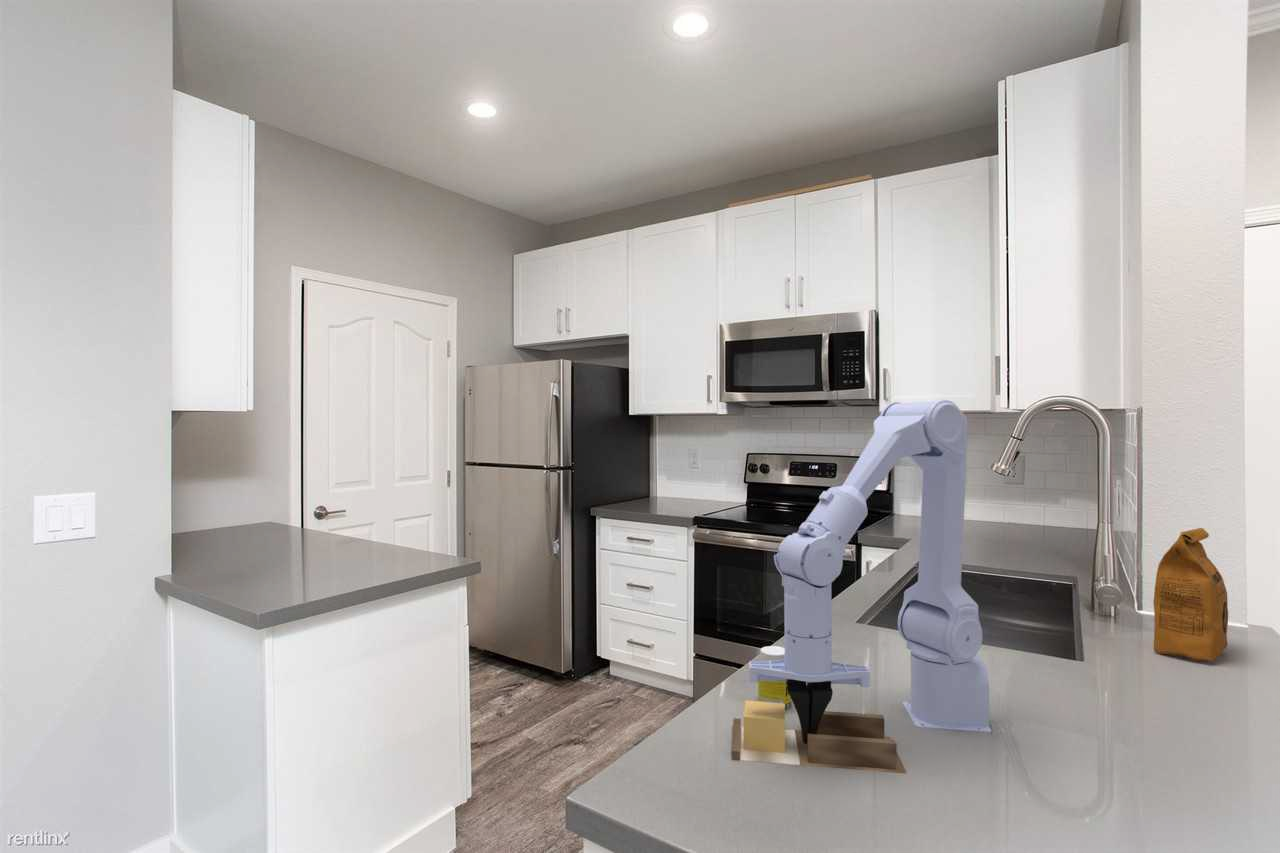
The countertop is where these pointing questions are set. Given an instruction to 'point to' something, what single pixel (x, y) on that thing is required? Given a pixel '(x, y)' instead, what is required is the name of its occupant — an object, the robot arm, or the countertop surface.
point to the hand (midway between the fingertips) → (808, 740)
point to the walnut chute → (831, 745)
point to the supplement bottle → (773, 689)
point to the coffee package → (1190, 601)
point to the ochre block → (764, 726)
